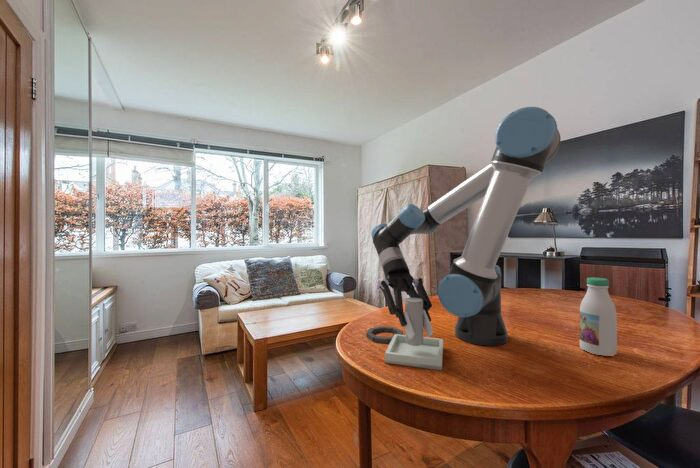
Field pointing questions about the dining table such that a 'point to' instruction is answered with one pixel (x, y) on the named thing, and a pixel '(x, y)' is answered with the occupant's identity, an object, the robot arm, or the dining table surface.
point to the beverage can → (415, 320)
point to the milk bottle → (598, 319)
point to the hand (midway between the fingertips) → (421, 335)
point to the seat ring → (379, 329)
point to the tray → (415, 353)
